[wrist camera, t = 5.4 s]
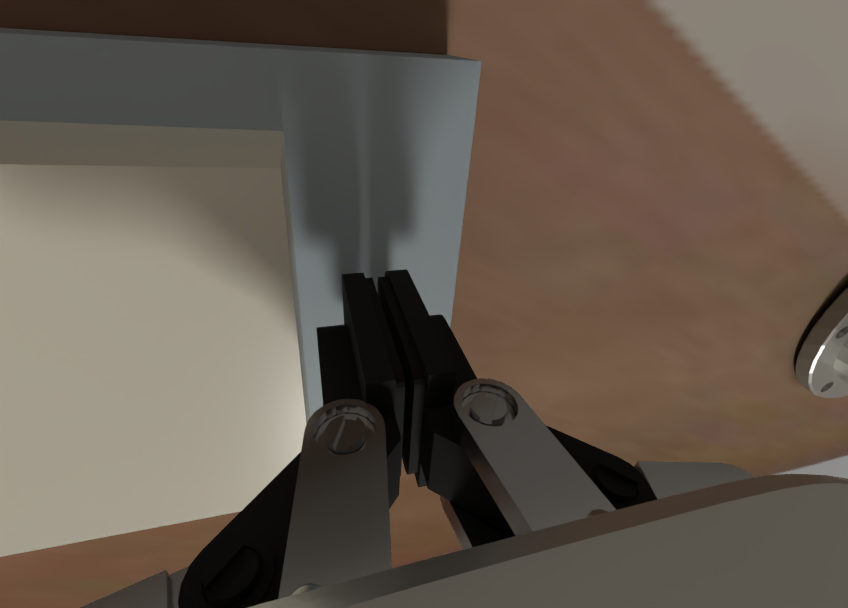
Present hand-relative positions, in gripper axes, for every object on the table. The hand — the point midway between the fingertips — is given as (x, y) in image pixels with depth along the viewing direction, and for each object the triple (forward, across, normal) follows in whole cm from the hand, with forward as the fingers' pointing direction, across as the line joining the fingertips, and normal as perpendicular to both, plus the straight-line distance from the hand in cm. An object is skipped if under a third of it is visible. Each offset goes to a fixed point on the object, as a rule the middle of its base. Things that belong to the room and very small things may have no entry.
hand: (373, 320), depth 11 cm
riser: (+4, +2, 0) cm, 4 cm away
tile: (0, +6, 0) cm, 6 cm away
